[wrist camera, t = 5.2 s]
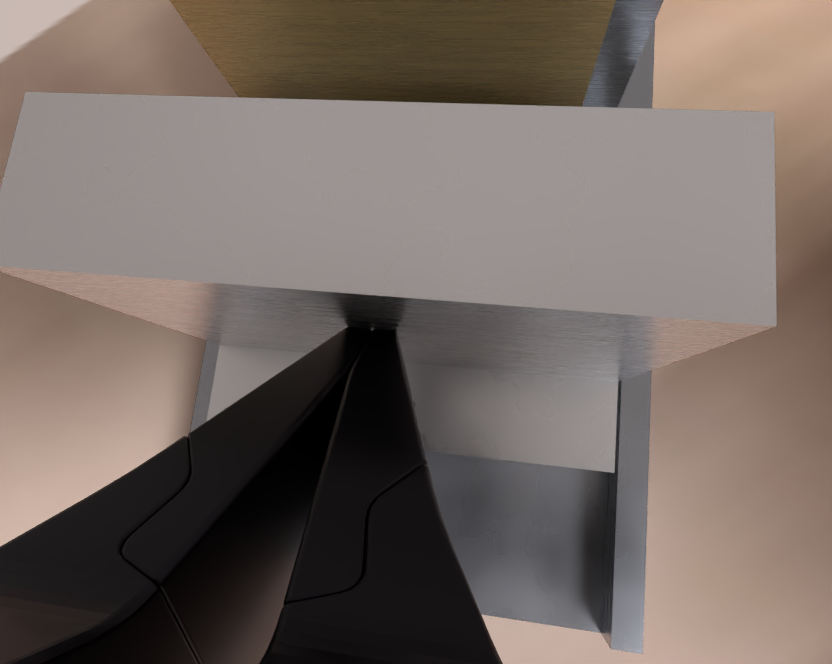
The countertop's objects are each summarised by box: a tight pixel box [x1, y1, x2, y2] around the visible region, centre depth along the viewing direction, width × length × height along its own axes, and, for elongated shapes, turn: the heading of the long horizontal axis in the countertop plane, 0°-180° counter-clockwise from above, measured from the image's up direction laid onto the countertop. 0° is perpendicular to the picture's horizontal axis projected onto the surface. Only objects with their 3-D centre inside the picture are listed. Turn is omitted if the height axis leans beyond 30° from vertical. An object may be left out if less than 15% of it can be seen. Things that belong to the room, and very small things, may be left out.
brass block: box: [170, 0, 616, 107], centre depth 11 cm, size 4×6×9 cm, turn 84°
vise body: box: [190, 0, 663, 654], centre depth 13 cm, size 18×12×8 cm
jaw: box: [0, 92, 777, 473], centre depth 10 cm, size 4×10×8 cm, turn 84°
